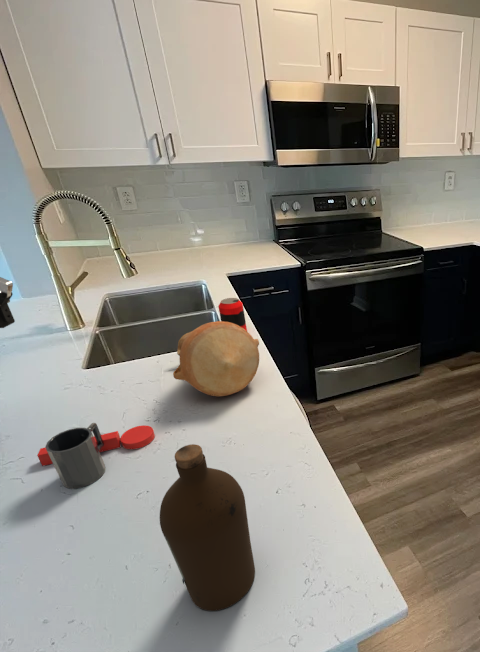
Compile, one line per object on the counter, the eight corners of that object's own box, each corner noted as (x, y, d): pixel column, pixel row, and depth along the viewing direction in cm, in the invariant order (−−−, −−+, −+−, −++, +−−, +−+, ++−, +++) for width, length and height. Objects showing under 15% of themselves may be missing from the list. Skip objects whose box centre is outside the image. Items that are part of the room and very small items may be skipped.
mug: (91, 488, 80) (75, 452, 76) (54, 488, 80) (35, 452, 76) (122, 450, 89) (110, 416, 85) (89, 451, 89) (74, 416, 85)
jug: (172, 380, 92) (137, 349, 113) (236, 418, 105) (193, 384, 126) (229, 310, 97) (185, 293, 118) (284, 354, 110) (235, 332, 131)
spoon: (39, 472, 84) (34, 461, 82) (47, 453, 89) (42, 442, 88) (154, 444, 91) (151, 434, 90) (155, 428, 96) (152, 418, 95)
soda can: (243, 338, 139) (237, 305, 133) (220, 339, 139) (214, 305, 133) (250, 329, 145) (244, 296, 140) (228, 329, 145) (222, 296, 140)
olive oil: (261, 544, 69) (237, 421, 57) (257, 608, 60) (227, 476, 48) (193, 555, 67) (154, 431, 56) (177, 623, 58) (127, 490, 46)
